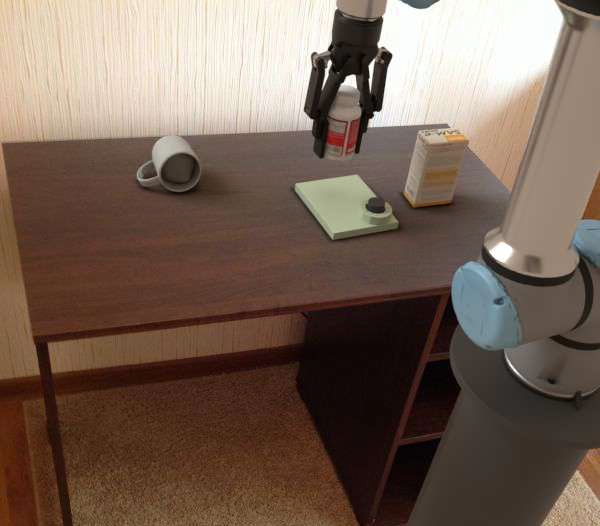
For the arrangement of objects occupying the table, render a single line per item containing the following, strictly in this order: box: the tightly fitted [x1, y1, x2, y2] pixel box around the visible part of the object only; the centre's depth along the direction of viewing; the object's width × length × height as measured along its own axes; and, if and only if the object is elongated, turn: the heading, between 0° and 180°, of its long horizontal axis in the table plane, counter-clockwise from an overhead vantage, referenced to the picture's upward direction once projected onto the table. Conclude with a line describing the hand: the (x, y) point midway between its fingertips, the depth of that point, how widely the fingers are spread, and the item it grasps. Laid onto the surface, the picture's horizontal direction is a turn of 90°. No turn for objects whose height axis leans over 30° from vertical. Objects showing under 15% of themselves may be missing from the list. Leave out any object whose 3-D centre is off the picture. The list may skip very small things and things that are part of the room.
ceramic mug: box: [136, 134, 202, 193], centre depth 133 cm, size 11×8×8 cm
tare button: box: [367, 196, 386, 214], centre depth 132 cm, size 3×3×2 cm
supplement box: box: [403, 127, 470, 208], centre depth 137 cm, size 8×5×13 cm, turn 111°
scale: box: [294, 174, 400, 241], centre depth 135 cm, size 16×13×3 cm
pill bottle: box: [324, 84, 361, 162], centre depth 126 cm, size 6×6×11 cm
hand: (336, 151), depth 130 cm, fingers closed on pill bottle, 6 cm apart
